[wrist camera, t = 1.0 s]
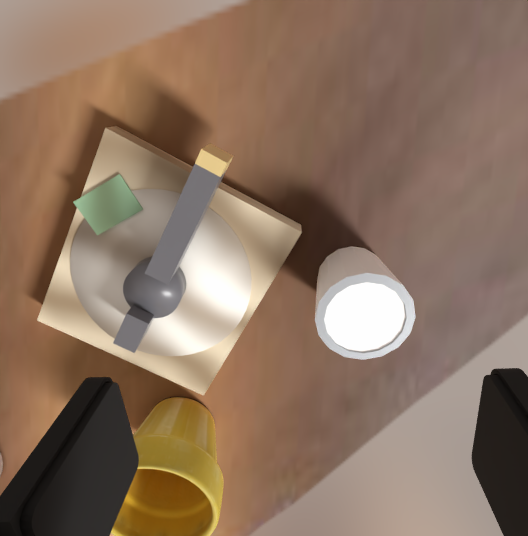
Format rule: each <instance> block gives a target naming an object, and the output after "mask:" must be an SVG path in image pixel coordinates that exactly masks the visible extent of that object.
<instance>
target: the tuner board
mask: <svg viewBox="0 0 528 536" xmlns="http://www.w3.org/2000/svg"><path fill="white" fill-rule="evenodd" d="M192 169H193V167H192V166H191V165H189V164H187V163H185V162H183V161H181V160H179V159H177V158H176V157H174V156H172V155H170V154H168V153H166V152H164V151H163V150H161V149H159V148H157V147H155V146H153V145H151V144H150V143H148V142H146V141H144V140H142V139H140V138H138V137H136V136H135V135H133V134H131V133H129V132H127V131H125V130H123V129H122V128H120V127H118V126H112V127H106V128H105V131H104V133H103V136H102V139H101V142H100V145H99V147H98V150H97V153H96V156H95V159H94V162H93V164H92V167H91V170H90V173H89V176H88V178H87V181H86V184H85V187H84V190H83V193H82V195H81V198H79V199H77V200H76V201H74V202H73V203H74V204H75V205H76V207H77V209H76V212H75V215H74V218H73V221H72V224H71V226H70V229H69V232H68V235H67V238H66V240H65V243H64V246H63V249H62V252H61V255H60V257H59V260H58V263H57V266H56V269H55V271H54V274H53V277H52V280H51V283H50V286H49V288H48V291H47V294H46V297H45V300H44V302H43V305H42V308H41V311H40V314H39V317H38V319H37V320H38V321H40V322H42V323H44V324H46V325H49V326H51V327H53V328H55V329H57V330H60V331H62V332H64V333H66V334H68V335H71V336H73V337H75V338H77V339H80V340H82V341H84V342H86V343H88V344H91V345H93V346H95V347H97V348H99V349H102V350H104V351H106V352H108V353H110V354H113V355H115V356H117V357H119V358H122V359H124V360H126V361H128V362H130V363H133V364H135V365H137V366H139V367H141V368H144V369H146V370H148V371H150V372H153V373H155V374H157V375H159V376H161V377H164V378H166V379H168V380H170V381H172V382H175V383H177V384H179V385H181V386H183V387H186V388H188V389H190V390H192V391H195V392H197V393H199V394H201V395H203V396H204V394H205V392H206V391H207V389H208V387H209V386H210V384H211V382H212V381H213V379H214V377H215V376H216V374H217V372H218V371H219V369H220V368H221V366H222V364H223V363H224V361H225V359H226V358H227V356H228V354H229V353H230V351H231V349H232V348H233V346H234V344H235V343H236V341H237V339H238V338H239V336H240V334H241V333H242V331H243V329H244V328H245V326H246V324H247V323H248V321H249V319H250V318H251V316H252V314H253V313H254V311H255V309H256V308H257V306H258V304H259V303H260V301H261V299H262V298H263V296H264V294H265V293H266V291H267V289H268V288H269V286H270V284H271V283H272V281H273V280H274V278H275V276H276V275H277V273H278V271H279V270H280V268H281V266H282V265H283V263H284V261H285V260H286V258H287V256H288V255H289V253H290V251H291V250H292V248H293V246H294V245H295V243H296V241H297V240H298V238H299V236H300V235H301V233H302V229H301V224H299V223H297V222H295V221H293V220H291V219H289V218H288V217H286V216H284V215H282V214H280V213H278V212H276V211H274V210H273V209H271V208H269V207H267V206H265V205H263V204H261V203H260V202H258V201H256V200H254V199H252V198H250V197H248V196H246V195H245V194H243V193H241V192H239V191H237V190H235V189H233V188H232V187H230V186H228V185H226V184H224V183H222V182H220V184H219V186H218V189H217V191H216V193H215V195H214V197H213V199H212V201H211V203H210V205H209V207H208V209H207V211H206V213H205V215H204V217H203V219H202V221H201V223H200V225H199V227H198V229H197V231H196V233H195V235H194V237H193V240H192V242H191V244H190V246H189V248H188V250H187V252H186V254H185V256H184V258H183V260H182V262H181V264H180V266H179V267H180V268H181V270H182V271H183V273H184V275H185V278H186V290H185V293H184V295H183V297H182V299H181V301H180V303H179V305H178V306H177V308H176V309H175V311H173V312H172V313H171V314H169V315H168V316H165V317H162V318H154V319H153V321H152V323H151V325H150V327H149V329H148V331H147V333H146V335H145V336H144V338H143V340H142V342H141V343H140V345H139V347H138V348H137V350H136V352H135V353H133V352H131V351H129V350H126V349H124V348H122V347H120V346H118V345H116V344H113V342H114V340H115V338H116V335H117V333H118V331H119V329H120V327H121V324H122V322H123V320H124V318H125V316H126V313H127V312H128V311H129V309H130V308H131V307H130V306H129V304H128V303H127V301H126V300H125V297H124V294H123V284H124V281H125V278H126V277H127V275H128V274H129V273H130V272H131V271H132V270H133V268H134V267H135V266H136V265H137V264H138V263H139V262H140V261H141V260H143V259H145V258H148V257H152V256H153V254H154V252H155V250H156V248H157V245H158V243H159V241H160V239H161V237H162V234H163V232H164V230H165V228H166V226H167V223H168V221H169V219H170V217H171V215H172V212H173V210H174V208H175V206H176V204H177V202H178V199H179V197H180V195H181V193H182V191H183V188H184V186H185V184H186V182H187V180H188V177H189V175H190V173H191V171H192Z"/></svg>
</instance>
